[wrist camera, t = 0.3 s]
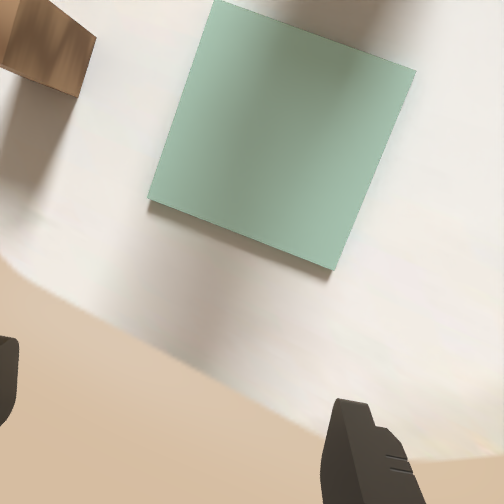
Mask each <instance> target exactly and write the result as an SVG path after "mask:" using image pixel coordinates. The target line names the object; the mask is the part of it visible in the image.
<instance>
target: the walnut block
mask: <svg viewBox="0 0 504 504" xmlns="http://www.w3.org/2000/svg"><path fill="white" fill-rule="evenodd" d="M96 38H97V37H95V36H94V35H93V34H91V33H90V32H89V31H88V30H86V29H85V28H84V27H82V26H81V25H80V24H79V23H77V22H76V21H75V20H73V19H72V18H71V17H70V16H68V15H67V14H66V13H64V12H63V11H62V10H61V9H59V8H58V7H57V6H55V5H54V4H53V3H52V2H50V1H49V0H0V67H1V68H3V69H6V70H8V71H10V72H13V73H15V74H17V75H20V76H22V77H24V78H27V79H30V80H32V81H35V82H38V83H40V84H43V85H45V86H48V87H51V88H53V89H56V90H59V91H61V92H64V93H66V94H69V95H72V96H74V97H77V98H78V96H79V93H80V90H81V86H82V83H83V80H84V77H85V73H86V70H87V67H88V64H89V60H90V57H91V54H92V51H93V47H94V44H95V41H96Z"/></svg>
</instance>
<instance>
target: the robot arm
mask: <svg viewBox="0 0 504 504" xmlns="http://www.w3.org/2000/svg"><path fill="white" fill-rule="evenodd" d="M18 360H19V343H18V341H17V340H16V339H15V338H11V337H5V336H0V426H1V425H2V424H3V423H4V422H5V421H6V420H7V418H8V416H9V415H10V413H11V411H12V409H13V406H14V403H15V399H16V392H17V376H18ZM320 482H321V490H322V498H323V504H426V503H425V500H424V498H423V495H422V493H421V490H420V488H419V485H418V483H417V480H416V478H415V476H414V475H413V471H412V468H411V466H410V463H409V462H407V456H406V454H405V451H404V449H403V446H402V444H401V442H400V441H399V440H398V439H397V438H396V437H395V436H394V435H393V434H392V433H391V432H390V431H389V430H388V429H387V428H383V427H377V426H375V423H374V420H373V418H372V415H371V412H370V409H369V406H368V404H366V403H361V402H356V401H350V400H345V399H339V398H337V399H336V401H335V403H334V406H333V410H332V414H331V419H330V423H329V427H328V431H327V436H326V440H325V444H324V449H323V453H322V459H321V468H320Z"/></svg>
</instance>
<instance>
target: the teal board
mask: <svg viewBox="0 0 504 504" xmlns="http://www.w3.org/2000/svg"><path fill="white" fill-rule="evenodd" d="M415 73H416V70H413V69H410V68H407V67H404V66H402V65H399V64H396V63H393V62H391V61H388V60H385V59H382V58H380V57H377V56H374V55H371V54H368V53H366V52H363V51H360V50H357V49H355V48H352V47H349V46H346V45H344V44H341V43H338V42H335V41H333V40H330V39H327V38H324V37H321V36H319V35H316V34H313V33H310V32H308V31H305V30H302V29H299V28H297V27H294V26H291V25H288V24H285V23H283V22H280V21H277V20H274V19H272V18H269V17H266V16H263V15H261V14H258V13H255V12H252V11H249V10H247V9H244V8H241V7H238V6H236V5H233V4H230V3H227V2H225V1H222V0H214V2H213V5H212V8H211V11H210V14H209V17H208V20H207V23H206V25H205V28H204V31H203V34H202V37H201V40H200V43H199V46H198V49H197V52H196V55H195V58H194V61H193V64H192V67H191V69H190V72H189V75H188V78H187V81H186V84H185V87H184V90H183V93H182V96H181V99H180V102H179V105H178V108H177V111H176V114H175V116H174V119H173V122H172V125H171V128H170V131H169V134H168V137H167V140H166V143H165V146H164V149H163V152H162V155H161V158H160V160H159V163H158V166H157V169H156V172H155V175H154V178H153V181H152V184H151V187H150V190H149V193H148V196H147V198H148V199H151V200H153V201H156V202H158V203H161V204H163V205H166V206H169V207H171V208H174V209H176V210H179V211H181V212H184V213H187V214H189V215H192V216H194V217H197V218H199V219H202V220H205V221H207V222H210V223H212V224H215V225H217V226H220V227H223V228H225V229H228V230H230V231H233V232H235V233H238V234H241V235H243V236H246V237H248V238H251V239H253V240H256V241H259V242H261V243H264V244H266V245H269V246H271V247H274V248H277V249H279V250H282V251H284V252H287V253H289V254H292V255H295V256H297V257H300V258H302V259H305V260H307V261H310V262H313V263H315V264H318V265H320V266H323V267H325V268H328V269H331V270H333V271H334V270H335V268H336V265H337V263H338V260H339V258H340V256H341V253H342V251H343V248H344V246H345V243H346V241H347V239H348V236H349V234H350V231H351V229H352V226H353V224H354V222H355V219H356V217H357V214H358V212H359V209H360V207H361V205H362V202H363V200H364V197H365V195H366V192H367V190H368V188H369V185H370V183H371V180H372V178H373V175H374V173H375V170H376V168H377V166H378V163H379V161H380V158H381V156H382V153H383V151H384V149H385V146H386V144H387V141H388V139H389V136H390V134H391V132H392V129H393V127H394V124H395V122H396V119H397V117H398V115H399V112H400V110H401V107H402V105H403V102H404V100H405V98H406V95H407V93H408V90H409V88H410V85H411V83H412V81H413V78H414V76H415Z"/></svg>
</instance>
